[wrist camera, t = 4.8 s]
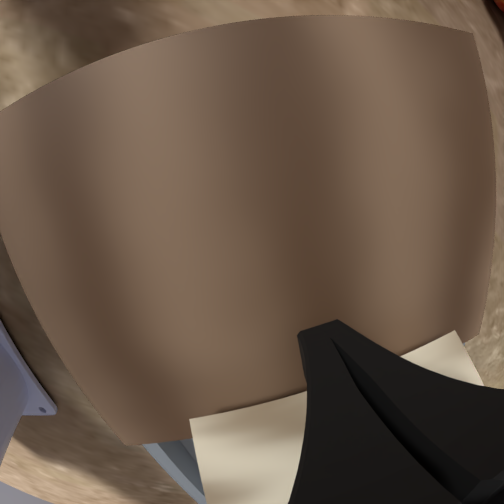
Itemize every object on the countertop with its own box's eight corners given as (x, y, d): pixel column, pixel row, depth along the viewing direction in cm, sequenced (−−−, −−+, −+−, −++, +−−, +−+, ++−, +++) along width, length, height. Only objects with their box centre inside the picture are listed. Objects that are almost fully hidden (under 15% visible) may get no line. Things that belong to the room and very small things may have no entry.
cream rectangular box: (221, 439, 12) (239, 515, 10) (189, 419, 9) (214, 531, 6) (414, 376, 13) (442, 441, 10) (454, 330, 10) (497, 416, 7)
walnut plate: (132, 401, 14) (125, 445, 11) (19, 128, 9) (-25, 129, 6) (447, 307, 15) (479, 333, 12) (429, 44, 10) (472, 33, 7)
